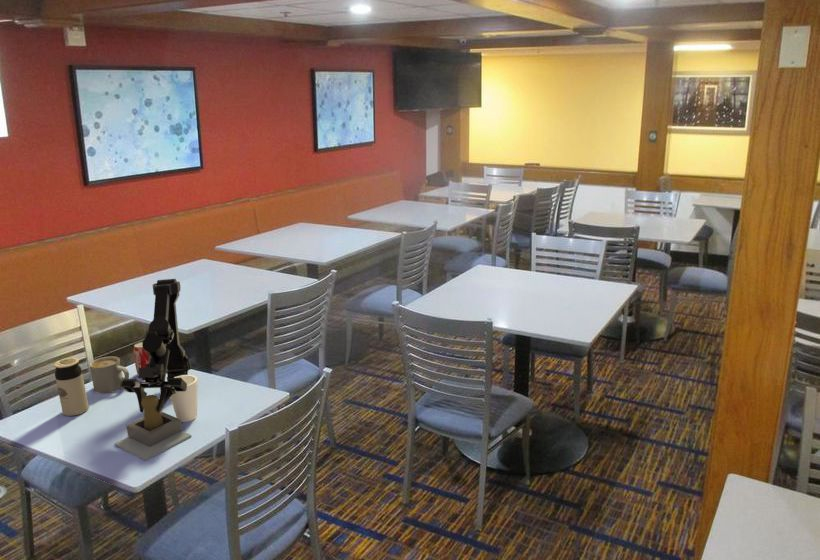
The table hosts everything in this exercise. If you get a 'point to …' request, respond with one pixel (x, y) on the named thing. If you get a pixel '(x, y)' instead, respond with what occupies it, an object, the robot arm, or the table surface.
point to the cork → (151, 413)
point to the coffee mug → (107, 374)
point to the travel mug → (71, 386)
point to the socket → (152, 437)
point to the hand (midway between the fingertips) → (149, 411)
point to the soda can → (140, 356)
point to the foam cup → (186, 399)
